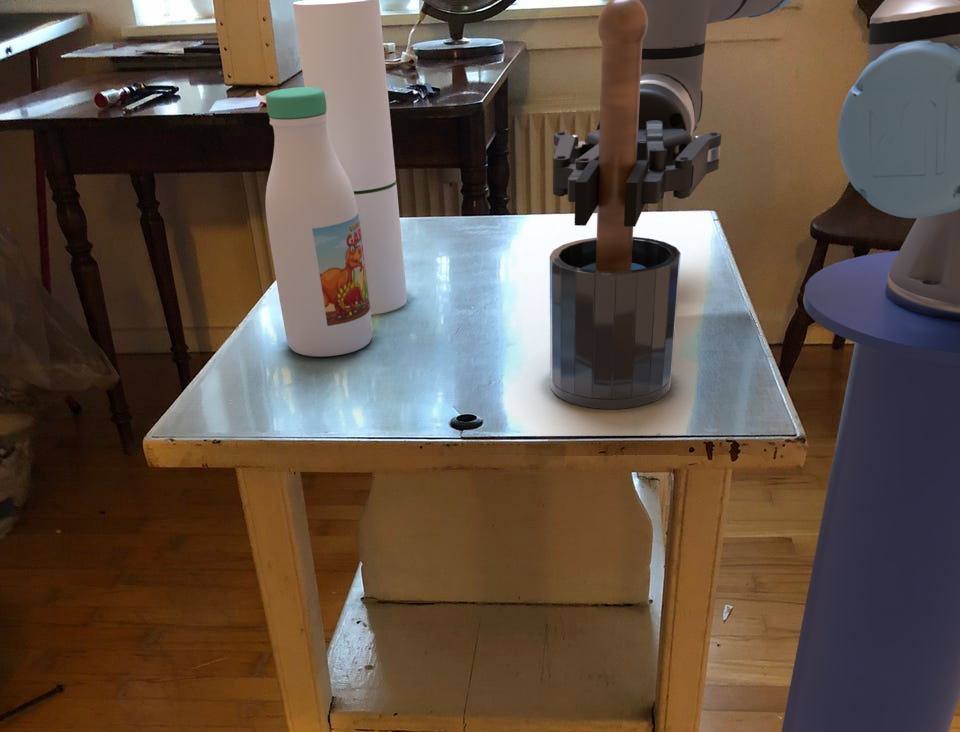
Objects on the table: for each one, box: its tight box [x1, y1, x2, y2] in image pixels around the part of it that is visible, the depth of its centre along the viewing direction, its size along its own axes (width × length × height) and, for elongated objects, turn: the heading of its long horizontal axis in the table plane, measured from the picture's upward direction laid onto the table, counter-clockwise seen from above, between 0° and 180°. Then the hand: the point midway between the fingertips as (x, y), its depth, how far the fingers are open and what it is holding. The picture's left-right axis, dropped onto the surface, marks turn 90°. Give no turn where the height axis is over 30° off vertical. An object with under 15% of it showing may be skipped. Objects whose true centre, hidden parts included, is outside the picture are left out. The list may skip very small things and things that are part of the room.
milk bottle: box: [265, 86, 374, 358], centre depth 81 cm, size 8×8×20 cm
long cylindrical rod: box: [581, 0, 648, 271], centre depth 69 cm, size 5×5×24 cm
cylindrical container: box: [292, 0, 408, 316], centre depth 88 cm, size 7×7×25 cm
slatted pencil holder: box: [549, 236, 681, 410], centre depth 74 cm, size 9×9×10 cm
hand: (605, 204), depth 64 cm, fingers closed on long cylindrical rod, 3 cm apart
